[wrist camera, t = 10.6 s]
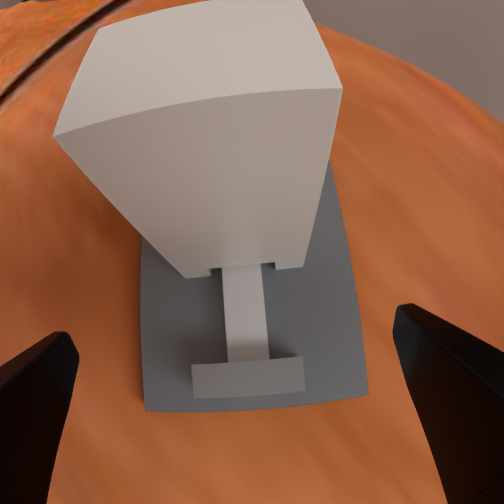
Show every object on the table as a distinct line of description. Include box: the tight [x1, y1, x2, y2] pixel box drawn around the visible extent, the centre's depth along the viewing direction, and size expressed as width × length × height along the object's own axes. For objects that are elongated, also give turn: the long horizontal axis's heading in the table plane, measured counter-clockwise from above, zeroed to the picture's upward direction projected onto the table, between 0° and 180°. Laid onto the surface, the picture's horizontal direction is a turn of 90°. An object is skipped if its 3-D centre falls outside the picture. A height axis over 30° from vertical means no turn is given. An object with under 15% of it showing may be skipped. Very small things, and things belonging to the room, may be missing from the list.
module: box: [52, 0, 343, 279], centre depth 13 cm, size 6×6×12 cm
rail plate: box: [140, 160, 368, 412], centre depth 18 cm, size 20×12×3 cm, turn 5°
